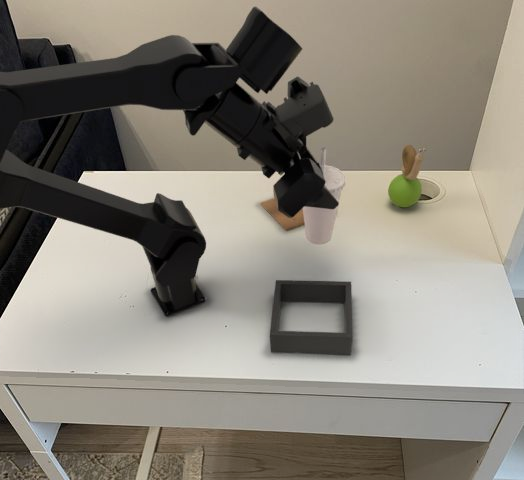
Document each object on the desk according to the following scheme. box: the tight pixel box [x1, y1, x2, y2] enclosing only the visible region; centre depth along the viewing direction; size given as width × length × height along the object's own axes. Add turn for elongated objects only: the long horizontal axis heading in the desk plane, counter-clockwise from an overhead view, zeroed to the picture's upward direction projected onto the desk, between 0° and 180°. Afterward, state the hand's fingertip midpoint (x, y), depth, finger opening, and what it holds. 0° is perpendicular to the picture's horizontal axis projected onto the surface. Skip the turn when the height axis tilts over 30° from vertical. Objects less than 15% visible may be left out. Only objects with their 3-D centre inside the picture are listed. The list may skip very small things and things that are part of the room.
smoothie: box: [303, 147, 346, 245], centre depth 74 cm, size 6×6×14 cm
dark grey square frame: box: [269, 279, 354, 356], centre depth 75 cm, size 11×11×4 cm
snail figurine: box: [387, 144, 427, 208], centre depth 89 cm, size 5×6×12 cm
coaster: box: [260, 197, 305, 232], centre depth 94 cm, size 9×9×1 cm
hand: (330, 192), depth 74 cm, fingers closed on smoothie, 6 cm apart
